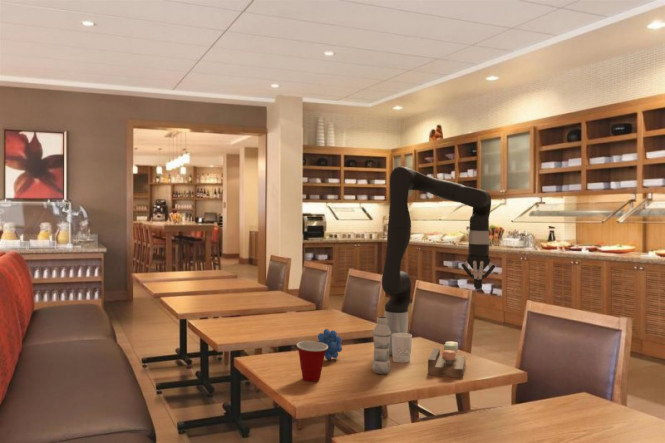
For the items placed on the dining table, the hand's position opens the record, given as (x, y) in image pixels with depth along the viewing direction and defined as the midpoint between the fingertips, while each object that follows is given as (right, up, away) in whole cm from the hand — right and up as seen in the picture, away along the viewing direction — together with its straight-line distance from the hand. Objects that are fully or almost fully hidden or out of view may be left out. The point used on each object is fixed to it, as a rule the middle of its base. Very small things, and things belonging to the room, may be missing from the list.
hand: (477, 288), depth 217 cm
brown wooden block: (-13, -29, -5) cm, 32 cm away
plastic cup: (-62, -29, -20) cm, 71 cm away
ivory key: (-10, -25, 0) cm, 27 cm away
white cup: (-28, -29, +6) cm, 41 cm away
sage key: (-12, -24, -6) cm, 28 cm away
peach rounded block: (-13, -25, -11) cm, 31 cm away
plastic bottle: (-37, -29, -12) cm, 49 cm away
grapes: (-55, -28, +5) cm, 62 cm away
